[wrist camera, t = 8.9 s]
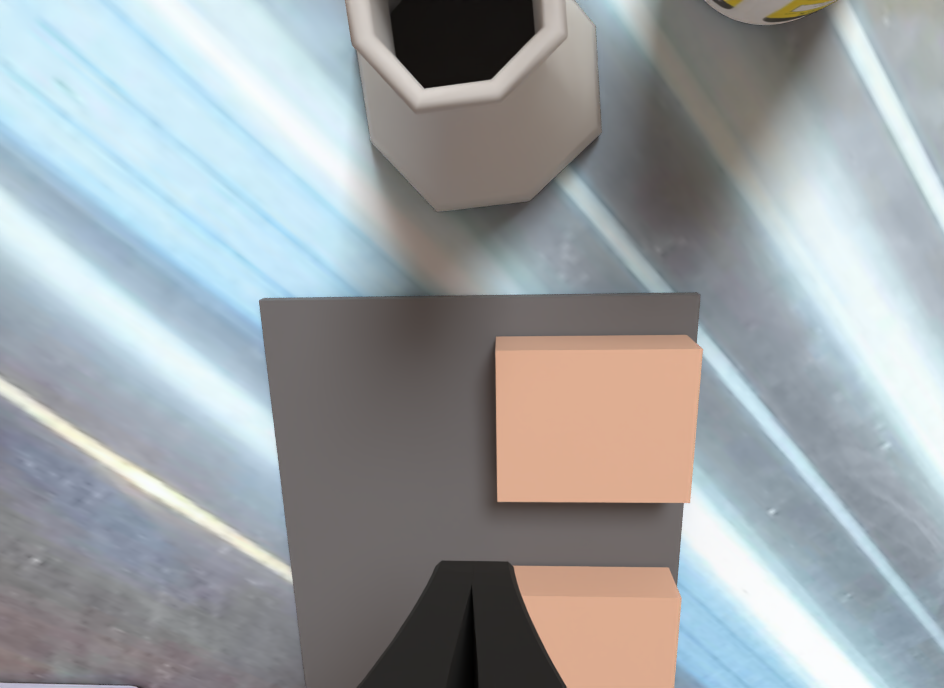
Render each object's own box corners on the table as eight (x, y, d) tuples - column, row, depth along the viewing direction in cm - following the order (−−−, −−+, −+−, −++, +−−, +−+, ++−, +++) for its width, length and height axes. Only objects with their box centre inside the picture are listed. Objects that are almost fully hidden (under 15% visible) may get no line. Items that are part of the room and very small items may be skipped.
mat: (310, 689, 24) (306, 698, 24) (263, 298, 20) (258, 300, 19) (664, 697, 23) (667, 706, 23) (696, 292, 19) (700, 295, 19)
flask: (639, 148, 18) (794, 122, 9) (425, 250, 19) (347, 328, 10) (544, -104, 16) (601, -490, 7) (315, 24, 18) (89, -154, 8)
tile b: (497, 501, 19) (690, 502, 19) (495, 350, 18) (702, 348, 17) (497, 475, 21) (674, 476, 20) (495, 335, 19) (685, 334, 19)
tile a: (499, 715, 21) (671, 719, 21) (498, 595, 20) (681, 597, 20) (499, 676, 23) (659, 679, 23) (498, 563, 22) (667, 565, 21)
